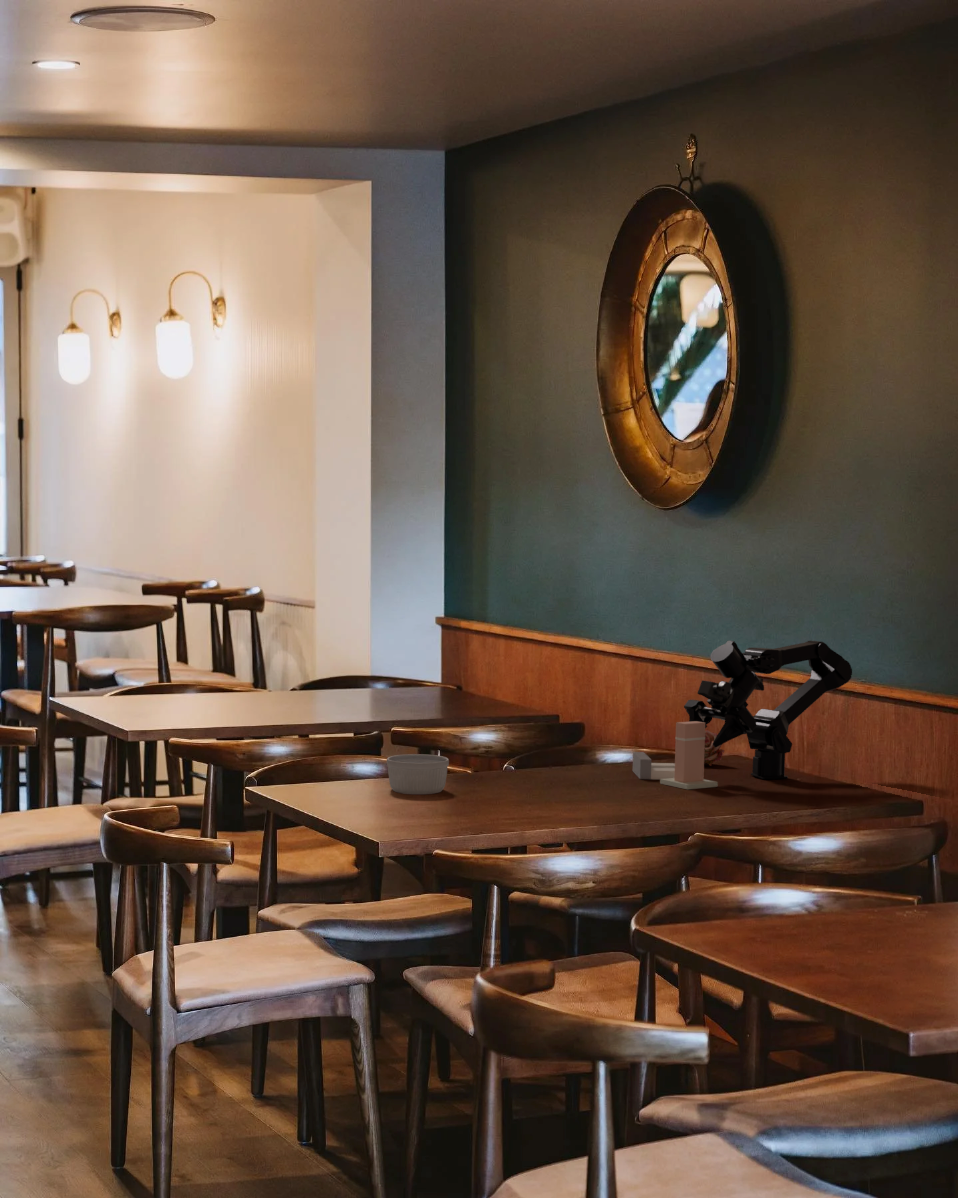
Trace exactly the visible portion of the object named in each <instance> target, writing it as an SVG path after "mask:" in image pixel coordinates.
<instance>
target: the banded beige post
mask: <svg viewBox="0 0 958 1198" xmlns="http://www.w3.org/2000/svg"><path fill="white" fill-rule="evenodd" d="M705 731H706V728H705V723H704V722H698V721H691V722H689V721H678V722H676V723H675V736H674V737H675V745H674V746H675V748H674V749H675V750H674V751H675V753H674V763H675V776H674V781H679V782H683V783H684V782H694V781H704V779H705V778H704V776H705V763H704V748H705Z"/></svg>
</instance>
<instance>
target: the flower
mask: <svg viewBox="0 0 958 1198" xmlns="http://www.w3.org/2000/svg"><path fill="white" fill-rule="evenodd" d="M717 735H718V733H716V732H711V731H710V730H708V729H705V748H704V762H705V763H704V765H706V764H708V765H709V766H710V767H712V764H713V763H714V762H718V761H721V760H722V759H723V758H722V756H723V755H724V754H723V753H725V749H721V747H722V745H720V746H718V747H714V746H713V742H714V740H715V738H716V736H717Z"/></svg>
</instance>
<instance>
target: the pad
mask: <svg viewBox="0 0 958 1198" xmlns="http://www.w3.org/2000/svg"><path fill="white" fill-rule="evenodd" d="M659 783H660V785H665V786H670V787H674V788H679V789H684V790H696V789H706V788H716V787H718V785H719V782H718V781H715V780H709V779H705V778H704V781H694V782H684V783H683V782H679V781H674V778H667V779H659Z"/></svg>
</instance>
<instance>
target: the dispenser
mask: <svg viewBox="0 0 958 1198" xmlns="http://www.w3.org/2000/svg"><path fill="white" fill-rule="evenodd" d="M632 772H633V773H634V774H635V776H636V777H638V779H639V780H660V779H667V778H674V776H675V762H652V758H650V757H649V755H648V754H647V753H645V752H643V751H633V752H632Z"/></svg>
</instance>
